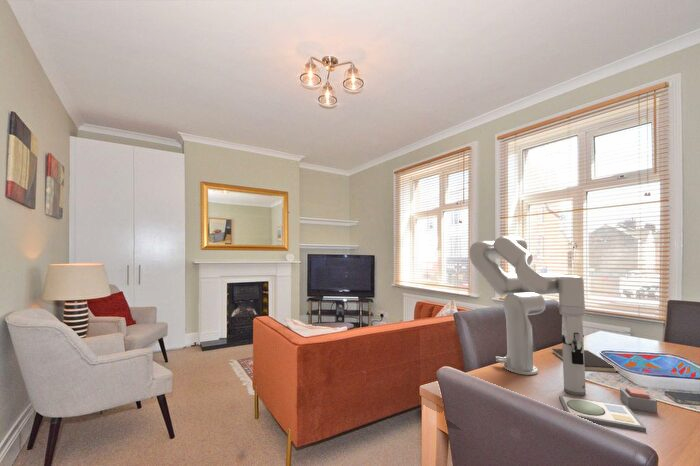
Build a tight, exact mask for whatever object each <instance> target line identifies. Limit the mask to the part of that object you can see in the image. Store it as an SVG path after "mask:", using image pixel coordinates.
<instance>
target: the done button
mask: <svg viewBox="0 0 700 466" xmlns="http://www.w3.org/2000/svg"><path fill="white" fill-rule="evenodd" d="M625 389H626V392H627V393H628V394H629V395H630V396H632V397H639V398H646V399H649V395H648V394H647V393H646V392H647V391H645V390H644V389H643V388H634V387H627V386H626V387H625Z"/></svg>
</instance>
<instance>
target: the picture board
mask: <svg viewBox="0 0 700 466" xmlns="http://www.w3.org/2000/svg"><path fill="white" fill-rule="evenodd" d="M558 397H559V401H560V403H561V405H562V408H563V410H564V412H565V411H566V412H569V413H571V414H574V415H577V416H579V417H581V418H584V419H587V420H589V421H592V422H594V424H599V425H604V426H611V427H617V428H622V429H628V430H634V431H639V432H644V433H646V432H647V428H646V426H645V425H644V424H643V423H642V422H641V421H640V419H639V418H638V417H637V416H636V414H634V412H633V411H632V409H629V407H628V406H627V405H625V404H619V403H613V402H605V401H599V400H592V399H586V398H580V397H574V396H566V395H559V396H558ZM566 412H565V413H566ZM592 422H591V423H592Z"/></svg>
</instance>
